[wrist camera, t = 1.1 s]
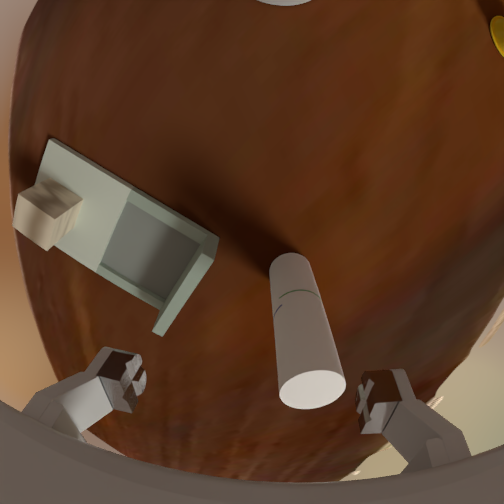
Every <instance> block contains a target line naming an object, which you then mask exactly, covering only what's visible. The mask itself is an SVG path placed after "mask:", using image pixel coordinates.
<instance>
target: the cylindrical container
mask: <svg viewBox="0 0 504 504" xmlns="http://www.w3.org/2000/svg"><path fill="white" fill-rule="evenodd" d="M269 276H270V287H271V298H272V309H273V320H274V333H275V345H276V357H277V369H278V382H279V394H280V398H281V400H282V402H284V403H285V404H286V405H288V406H290V407H293V408H298V409H312V408H318V407H322V406H324V405H327V404H329V403H331V402H333V401H334V400H336V399H337V398H338V397H340V396H341V394H342V393H343V392H344V390H345V387H346V382H345V378H344V375H343V371H342V368H341V364H340V360H339V357H338V353H337V350H336V347H335V343H334V340H333V336H332V333H331V330H330V326H329V323H328V320H327V316H326V313H325V310H324V307H323V303H322V300H321V297H320V294H319V291H318V288H317V285H316V281H315V278H314V275H313V272H312V269H311V266H310V263H309V262H308V260H307V259H306V258H305V257H304V256H302V255H300V254H297V253H286V254H283V255H280V256H279V257H277V258H276V259H275V260H274V261H273V262H272V264H271V266H270V269H269Z"/></svg>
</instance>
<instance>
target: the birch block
mask: <svg viewBox="0 0 504 504" xmlns="http://www.w3.org/2000/svg"><path fill="white" fill-rule="evenodd" d="M83 200H84V199H83V198H81V197H79V196H78V195H76V194H75V193H73V192H72V191H70V190H68V189H67V188H65V187H64V186H62V185H61V184H59V183H58V182H56V181H55V180H53V179H52V178H48V179H46V180H44V181H42V182H40V183H38V184H36V185H34V186H32V187H30V188H28V189H26V190H25V191H23V192H21V193H19V194H18V198H17V203H16V208H15V213H14V219H13V224H12V226H13V227H14V228H16V229H17V230H18V231H20V232H21V233H22V234H24V235H25V236H26V237H28V238H29V239H31V240H32V241H33V242H35V243H36V244H37V245H39V246H40V247H42V248H43V249H44V250H46V251H47V250H49V249H50V248H51V247H52V246H53V245H54V244H55V243H56V242H58V241H59V240H60V239H61V238H62V237H63V236H65V235H66V234H67V233H68V232H69V231H70V230H72V229H73V228H74V226H75V223H76V220H77V217H78V214H79V211H80V208H81V205H82V203H83Z"/></svg>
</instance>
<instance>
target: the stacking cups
mask: <svg viewBox="0 0 504 504" xmlns="http://www.w3.org/2000/svg"><path fill="white" fill-rule="evenodd" d="M490 32H491V36H492V39H493V42H494V44H495V46H496V48H497V50H498V51H499V53H500V54H501V55H502V56H503V57H504V17H502V16H495V17H493V18H492V20H491V22H490Z"/></svg>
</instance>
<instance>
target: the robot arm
mask: <svg viewBox="0 0 504 504" xmlns="http://www.w3.org/2000/svg"><path fill="white" fill-rule="evenodd" d="M258 1H261V2H264V3H268V4H273V5H282V6H289V5H298V4H302V3H305V2H308V1H310V0H258ZM141 363H142V359H141V356H140V355H139V354H136V353H131V352H127V351H122V350H118V349H113V348H109V347H104V348H102V349H101V350H100V351H99V353H98V354H97V356H96V357H95V358H94V360H93V361H92V362H91V364H90V365H89V366H88V368H87V369H86V371H85V372H79V373H77V374H75V375H73V376H71V377H69V378H67V379H64V380H62V381H60V382H58V383H56V384H54V385H51V386H49V387H47V388H45V389H43V390H41V391H38V392H36V393H35V395H34V396H33V398H32V399H31V400H30V401H29V403H28V404H27V405H26V407H25V408H24V409H23V411H22V412H20V411H18V410H16V409H14V408H13V407H11V406H9V405H7V404H6V403H4V402H2V401H1V400H0V504H504V444H503V445H501V446H498V447H496V448H493V449H491V450H488V451H485V452H482V453H479V454H477V455H474V456H471V454H470V451H469V448H468V446H467V443H466V440H465V438H464V435H463V433H462V431H461V430H460V429H458V428H457V427H456V426H454V425H453V424H452V423H450V422H449V421H448V420H446V419H445V418H443V417H442V416H441V415H439V414H438V413H437V412H435V411H434V410H433V409H431V408H430V407H429V406H427V405H426V404H425V403H423V402H422V401H421V400H416V398H415V396H414V393H413V390H412V388H411V385H410V383H409V380H408V378H407V375H406V373H405V370H403V369H393V370H377V371H364V373H363V374H362V377H361V381H362V384H361V385H360V386H359V387H358V389H357V392H356V398H355V404H356V411H357V412H358V413H360V417H359V419H358V422H359V427H360V433H361V434H370V433H382V434H383V435H384V436H385V437H386V439H387V440H388V441H389V442H390V443H391V444H392V445H393V446H394V447H395V449H396V450H397V451H398V452H399V453H400V454H401V455H402V456H403V457H404V459H405V460H406V461H407V462H408V463H409V464H408V465H407V466H406V468H405V469H404V470H403V471H402V472H401V473H400V474H398V475H392V476H386V477H379V478H371V479H362V480H352V481H339V482H317V483H284V482H263V481H250V480H239V479H230V478H222V477H215V476H208V475H202V474H196V473H191V472H186V471H181V470H176V469H171V468H167V467H162V466H158V465H154V464H150V463H147V462H143V461H139V460H136V459H132V458H129V457H126V456H122V455H119V454H116V453H113V452H110V451H107V450H104V449H101V448H99V447H96V446H93V445H91V444H88V443H87V442H86V441H85V439H84V437H83V436H82V435H81V432H82V431H84V430H85V429H86V428H88V427H89V426H91V425H92V424H94V423H95V422H96V421H98V420H99V419H101V418H102V417H104V416H105V415H106V414H108V413H109V412H111V411H112V410H113V409H116V410H120V411H125V412H129V413H133V411H134V409H135V407H136V405H137V403H138V399H137V396H138V395H139V394H141V393H142V392H143V390H144V388H145V384H146V373H145V370H144V369H143V368H142V367H141V366H140V365H141Z"/></svg>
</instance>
